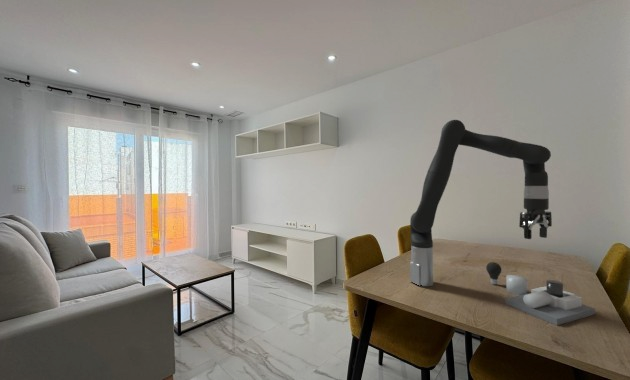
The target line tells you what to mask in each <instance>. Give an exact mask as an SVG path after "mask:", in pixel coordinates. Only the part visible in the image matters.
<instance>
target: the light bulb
mask: <svg viewBox="0 0 630 380" xmlns="http://www.w3.org/2000/svg"><path fill="white" fill-rule="evenodd" d="M485 267H486V271H487V272H486V273H488V275H489V279H490V284H492V285H494V286H496V285H497V284H498V279H499V276H500V275H501V272H502V266H501V265H500V264H499V263H497V262H494V261H491V262H488V263H487V264H486V266H485Z"/></svg>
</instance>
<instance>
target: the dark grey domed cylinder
mask: <svg viewBox="0 0 630 380" xmlns="http://www.w3.org/2000/svg"><path fill="white" fill-rule="evenodd" d="M545 285H546V287H547V293H549V294H550V295H553V296H556V297H559V298H562V297H563V291H564V283H563V282H561V281H557V280H551V279H547V280H546V283H545Z"/></svg>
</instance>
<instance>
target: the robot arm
mask: <svg viewBox="0 0 630 380" xmlns="http://www.w3.org/2000/svg"><path fill="white" fill-rule="evenodd" d="M459 146H465V147H471V148H475V149H478V150H482V151H486V152H488V153H491V154H496V155H498V156H502V157H504V158H505V157H506V158H509V159H510V158H511V159H518V160H522V164H523V165H522V166H523V172H524V188H523V208H524V209H525V210H526V212H519V225H518V226H519V228H522V229H523V237H524V239H525V240H531V239H532V228H533V227H534V226H535V225H536V224H537V225H538V226H539V237H540V238H544V239H546V238H548V229H549V228H550V227H552V224H553V223H552V222H553V221H552V220H553V219H552V211H549V207H550V206H549V204H550V200H549V199H550V198H549V195H550V192H549V190H550V189H549V176H548V175H549V174H548V172H547V171H546V165H545V163H547V162H548V161H549V160H550V158H551V157H552V155H551V151H550V150H549V148H547V147H545V146H542V145H539V144H535V143H528V142H522V141H517V140H514V139H511V138H507V137H503V136H498V135H492V134H491V135H490V134H481V133H476V132H474V131H470V130H467V129H466V126H465V124H464V123H463V122H462V121H461V120H458V119H452V120H449V121H447V122H446V123H445V124H444V125H443V126H442V127H441V133H440V139H439V141H438V146H437V149H436V152H435V154H434V156H433V158H432V160H431V163H430V165H429V167H428V169H427V172H426V176H425V179H424V182H423V186H422V192H421V198H420V202H419V204H418V207H417V210H416V211H415V212H413V213H412V214H411V216H410V244H411V245H410V246H411V248H410V249H411V252H410V253H411V254H410V255H411V256H410V257H411V261H410V262H409V282H410V281H412V282H413V283H415V284H417V285H419V286H418V287H431V286H434V243H433V236H432V235H433V234H432V228H433V227H434V222H435V218H436V214H437V209H438V207H439V204H440V201H441V199H442V197H443V195H444V193H445V190H446V187H447V185H448V182H449V179H450V176H451V172H452V169H453V164H454V160H455V155H456V153H457V150H458V147H459ZM524 209H523V210H524ZM413 283H412V284H413ZM415 284H414V285H415ZM417 285H416V286H417ZM420 285H422V286H420Z"/></svg>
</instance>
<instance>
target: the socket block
mask: <svg viewBox="0 0 630 380" xmlns="http://www.w3.org/2000/svg"><path fill="white" fill-rule="evenodd" d="M582 301H583V297H581V296H579V295H576V294H575V293H573V292H569V291H565V290H563V297H562V298H559V297H556V296H553V295H550V294H549V293H547V285H546V286H541V287H536V288H532V289H530V292H529V293H527V294H524V295H514V296H512V297H511V296H510V297H507V298H505V304H506V305H508V306H510V307H512V308H514V309H517V310H520V311H522V312H523V313H527V314H529V315H531V316H534V317H536V318H538V319H541V320H543V321H546V322H548V323H550V324H553V325H555V326H560V325H563V324H566V323H570V322H573V321H577V320H580V319H584V318H587V317H590V316H594V315H596V308H595V307H592V306H589V305H587V304H583V302H582ZM593 314H594V315H593Z"/></svg>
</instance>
